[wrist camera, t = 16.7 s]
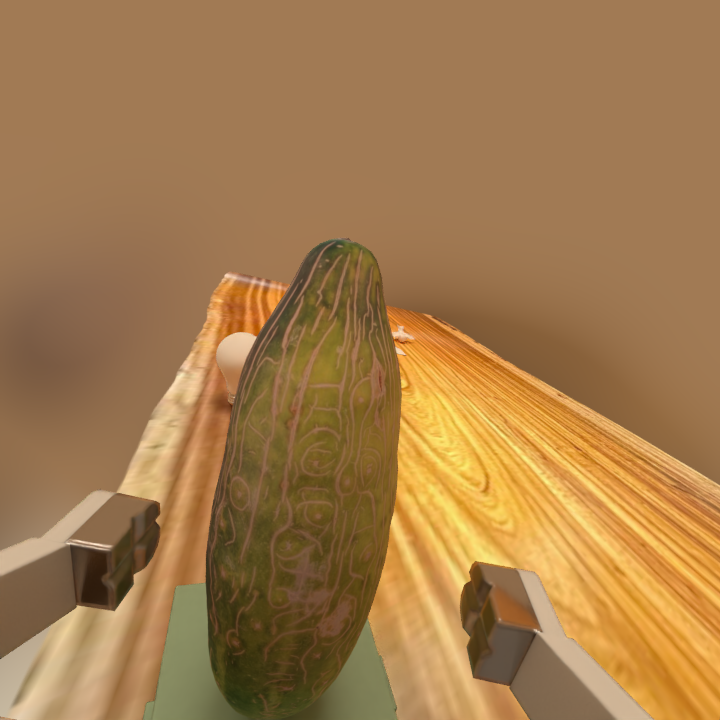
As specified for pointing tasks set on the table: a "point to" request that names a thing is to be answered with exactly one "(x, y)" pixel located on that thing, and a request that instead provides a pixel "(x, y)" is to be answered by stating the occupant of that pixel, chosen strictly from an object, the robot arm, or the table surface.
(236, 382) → the light bulb
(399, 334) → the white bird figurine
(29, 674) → the table surface
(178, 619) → the block
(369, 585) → the vegetable
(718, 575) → the table surface
